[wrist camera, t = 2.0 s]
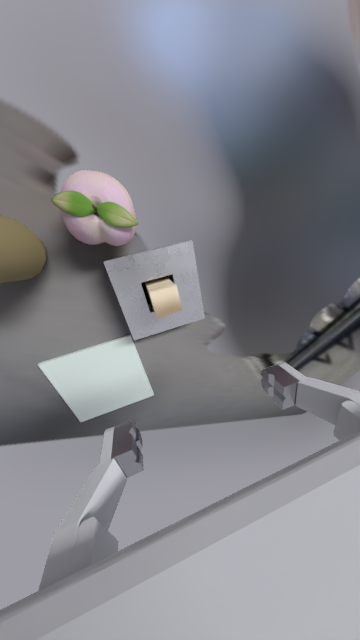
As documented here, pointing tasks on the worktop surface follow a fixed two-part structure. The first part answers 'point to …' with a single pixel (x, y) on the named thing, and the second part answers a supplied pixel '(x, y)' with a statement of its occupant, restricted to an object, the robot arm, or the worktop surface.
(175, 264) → the aluminium socket block
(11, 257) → the squeeze bottle
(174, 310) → the birch peg
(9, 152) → the worktop surface
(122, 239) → the decorative fruit
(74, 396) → the sage pad
